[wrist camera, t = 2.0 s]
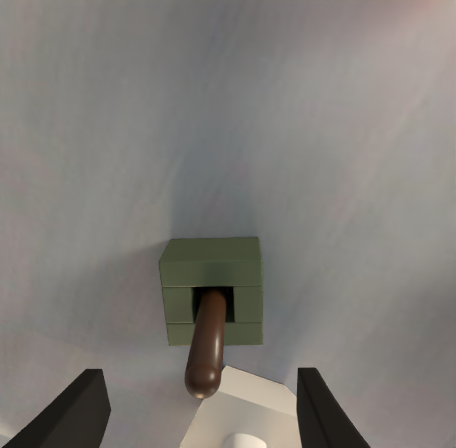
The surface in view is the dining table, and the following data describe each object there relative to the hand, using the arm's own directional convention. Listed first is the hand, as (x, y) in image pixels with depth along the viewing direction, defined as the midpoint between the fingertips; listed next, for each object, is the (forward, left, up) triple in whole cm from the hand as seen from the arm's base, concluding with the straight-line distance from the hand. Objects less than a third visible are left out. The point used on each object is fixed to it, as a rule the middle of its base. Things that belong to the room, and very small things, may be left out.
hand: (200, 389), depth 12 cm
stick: (0, 0, -8) cm, 8 cm away
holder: (0, 0, -8) cm, 8 cm away
